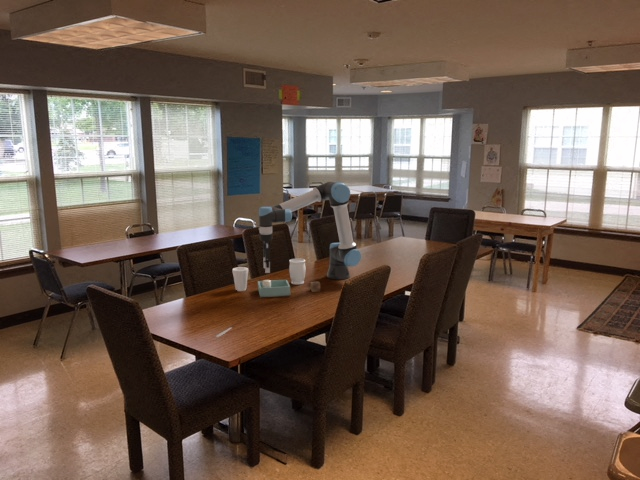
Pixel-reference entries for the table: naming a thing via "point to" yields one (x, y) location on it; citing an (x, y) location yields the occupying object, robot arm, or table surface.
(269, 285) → the ceramic canister
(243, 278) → the foam cup
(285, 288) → the tote
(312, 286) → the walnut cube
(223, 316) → the table surface
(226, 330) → the butter knife
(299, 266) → the jar
